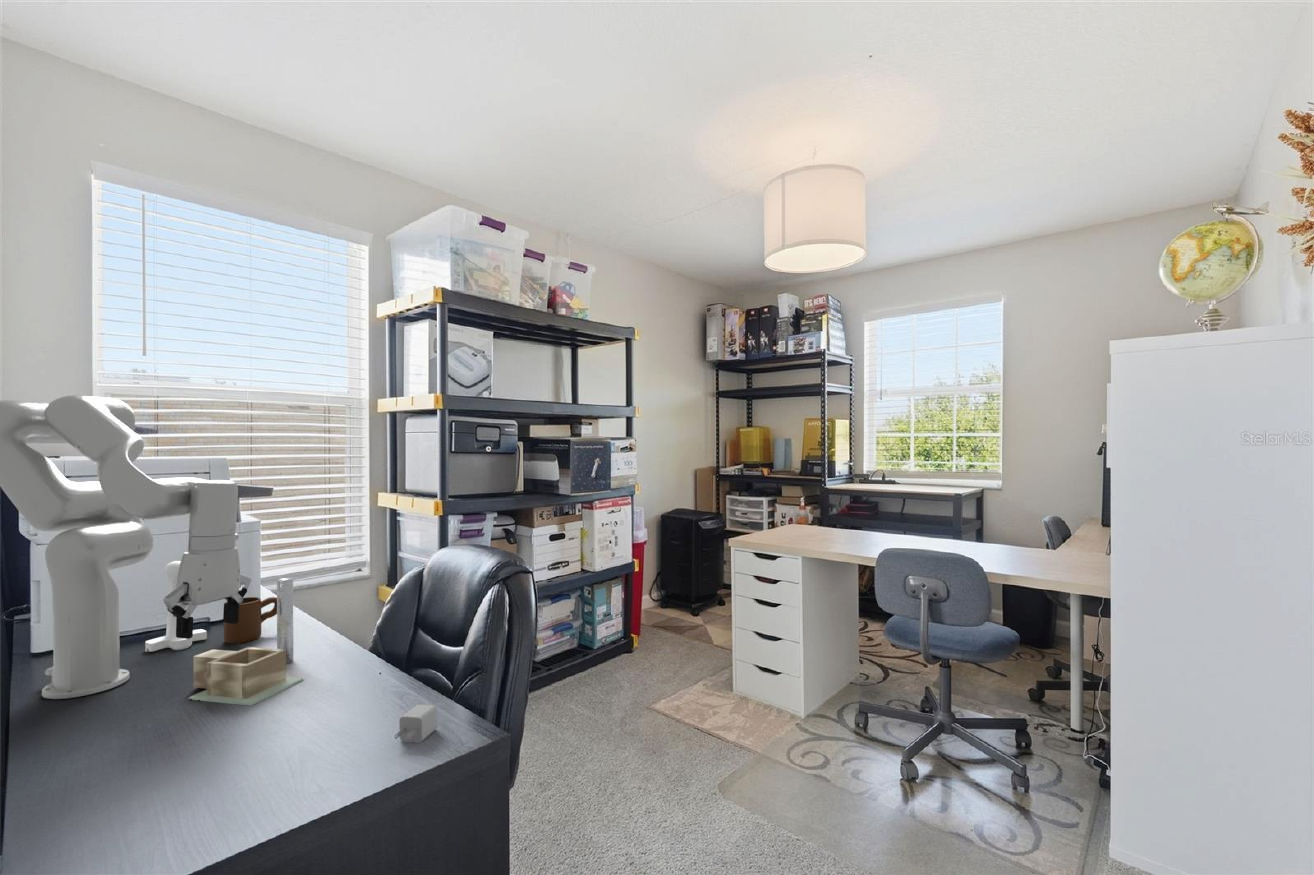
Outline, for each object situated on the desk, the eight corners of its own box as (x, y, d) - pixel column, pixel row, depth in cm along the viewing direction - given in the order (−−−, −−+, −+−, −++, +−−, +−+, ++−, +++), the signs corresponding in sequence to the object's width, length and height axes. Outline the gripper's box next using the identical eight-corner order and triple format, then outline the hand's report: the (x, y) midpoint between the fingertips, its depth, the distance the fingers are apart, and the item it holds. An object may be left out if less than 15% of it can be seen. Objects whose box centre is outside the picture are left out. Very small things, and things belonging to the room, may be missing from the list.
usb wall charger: (437, 730, 99) (437, 706, 99) (413, 751, 92) (413, 725, 93) (415, 728, 100) (414, 704, 100) (389, 749, 93) (389, 723, 93)
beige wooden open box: (180, 692, 115) (180, 661, 115) (224, 674, 123) (224, 645, 123) (246, 698, 111) (246, 666, 111) (286, 680, 120) (285, 649, 120)
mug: (277, 628, 156) (277, 592, 156) (285, 635, 150) (285, 597, 150) (221, 639, 147) (221, 600, 148) (226, 646, 142) (226, 606, 142)
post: (274, 664, 130) (273, 580, 130) (285, 659, 133) (284, 577, 133) (285, 664, 130) (285, 581, 130) (296, 659, 133) (296, 578, 133)
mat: (188, 699, 112) (188, 697, 112) (245, 675, 124) (245, 673, 124) (250, 705, 109) (250, 703, 109) (303, 680, 121) (303, 678, 121)
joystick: (200, 637, 149) (199, 556, 150) (212, 642, 145) (212, 559, 145) (143, 650, 140) (142, 564, 140) (154, 656, 136) (154, 567, 136)
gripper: (236, 535, 128) (232, 616, 128) (151, 548, 111) (147, 641, 111) (265, 538, 126) (261, 619, 126) (184, 552, 109) (180, 646, 109)
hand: (208, 630), depth 119 cm, fingers open, 9 cm apart
